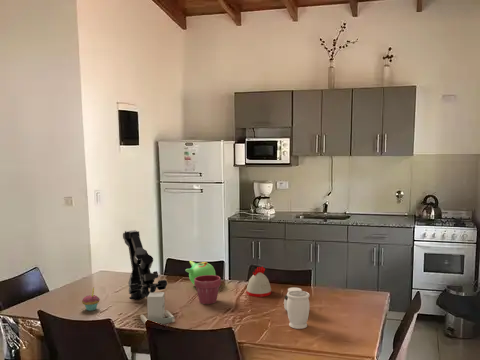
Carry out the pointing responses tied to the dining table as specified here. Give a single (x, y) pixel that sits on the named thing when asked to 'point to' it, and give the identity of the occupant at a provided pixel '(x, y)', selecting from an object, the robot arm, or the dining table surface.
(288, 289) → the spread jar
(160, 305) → the supplement box
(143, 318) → the bay
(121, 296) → the dining table surface
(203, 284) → the plant pot
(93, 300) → the cupcake
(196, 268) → the toy bird
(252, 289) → the chicken egg cooker
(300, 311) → the jar
